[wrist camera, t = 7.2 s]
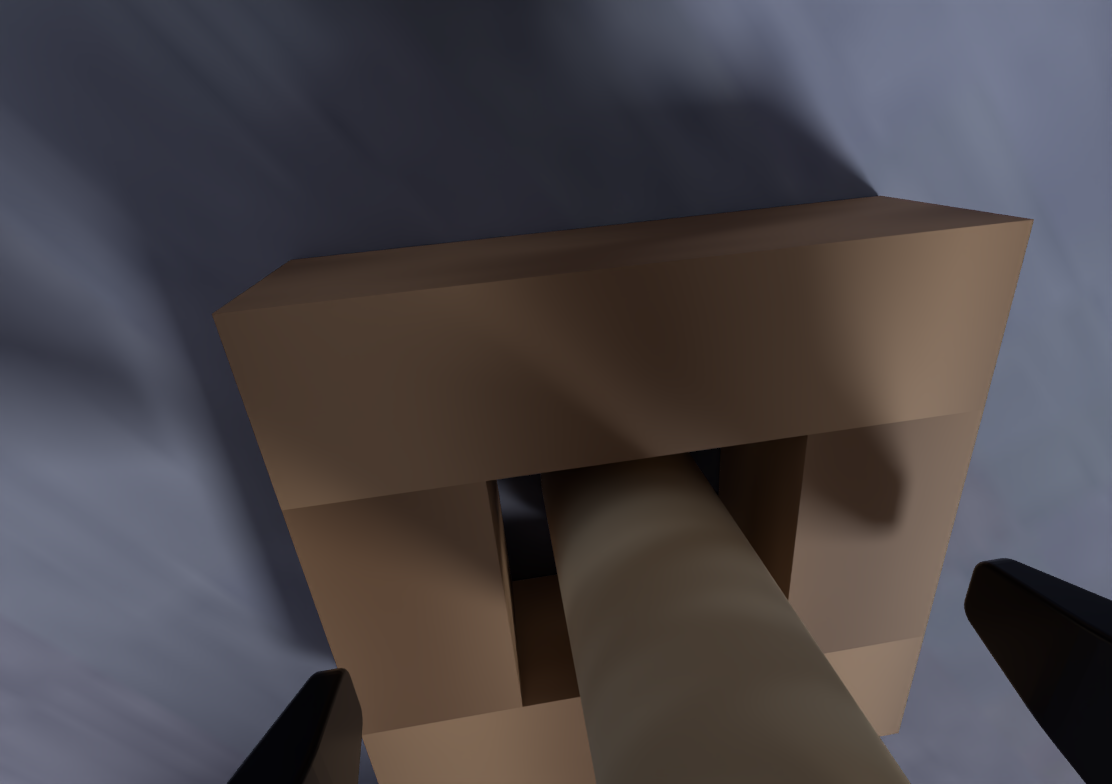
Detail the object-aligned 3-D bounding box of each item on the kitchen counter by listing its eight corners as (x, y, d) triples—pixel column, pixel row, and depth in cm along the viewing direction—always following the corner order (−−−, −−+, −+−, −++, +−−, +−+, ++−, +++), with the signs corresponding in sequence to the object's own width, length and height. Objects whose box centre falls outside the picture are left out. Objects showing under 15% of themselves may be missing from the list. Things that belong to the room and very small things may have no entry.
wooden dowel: (686, 398, 11) (1271, 1131, 3) (684, 522, 12) (1088, 1275, 4) (533, 418, 11) (708, 1281, 3) (547, 543, 12) (695, 1386, 4)
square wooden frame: (880, 195, 10) (1033, 219, 7) (817, 617, 14) (898, 732, 11) (290, 259, 9) (212, 313, 6) (410, 687, 13) (394, 829, 11)
